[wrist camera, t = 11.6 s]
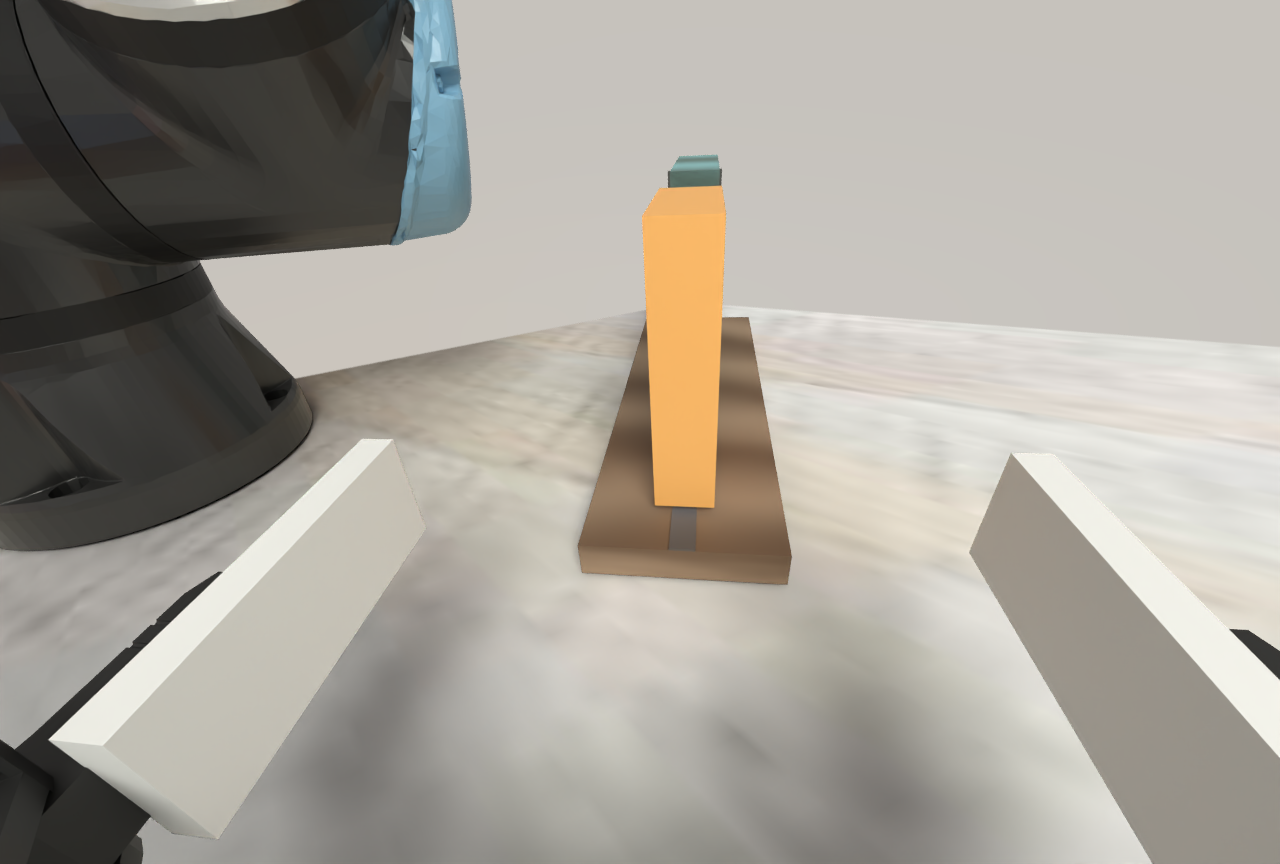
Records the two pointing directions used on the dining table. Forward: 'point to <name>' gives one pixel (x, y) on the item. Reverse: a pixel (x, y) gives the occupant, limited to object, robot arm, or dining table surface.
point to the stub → (684, 339)
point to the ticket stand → (744, 484)
